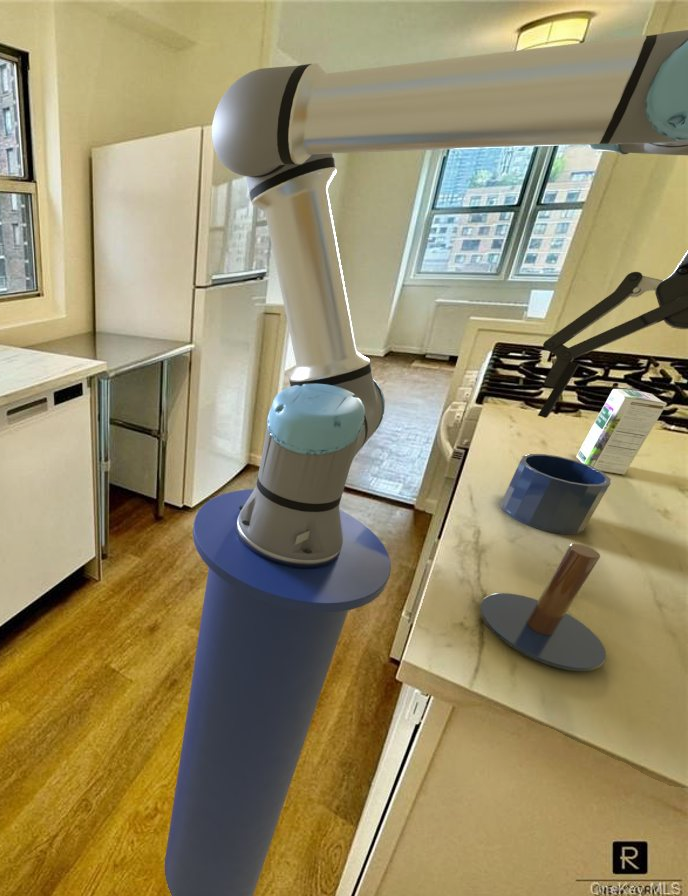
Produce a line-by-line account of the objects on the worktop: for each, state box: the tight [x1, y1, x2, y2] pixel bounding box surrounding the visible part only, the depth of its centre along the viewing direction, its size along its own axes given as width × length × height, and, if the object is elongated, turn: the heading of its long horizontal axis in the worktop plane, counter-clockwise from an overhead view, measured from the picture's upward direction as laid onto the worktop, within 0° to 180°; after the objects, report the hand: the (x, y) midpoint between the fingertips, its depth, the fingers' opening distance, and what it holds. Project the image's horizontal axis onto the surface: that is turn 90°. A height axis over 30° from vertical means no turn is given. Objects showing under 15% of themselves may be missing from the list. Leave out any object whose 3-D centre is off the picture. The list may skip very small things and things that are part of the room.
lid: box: [478, 543, 607, 672], centre depth 53 cm, size 11×11×12 cm
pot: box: [500, 453, 611, 535], centre depth 75 cm, size 10×10×8 cm
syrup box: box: [576, 388, 668, 475], centre depth 89 cm, size 6×6×14 cm
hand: (619, 439), depth 53 cm, fingers open, 13 cm apart
